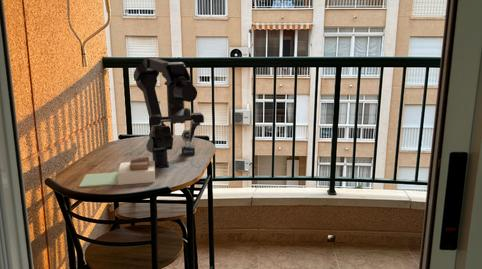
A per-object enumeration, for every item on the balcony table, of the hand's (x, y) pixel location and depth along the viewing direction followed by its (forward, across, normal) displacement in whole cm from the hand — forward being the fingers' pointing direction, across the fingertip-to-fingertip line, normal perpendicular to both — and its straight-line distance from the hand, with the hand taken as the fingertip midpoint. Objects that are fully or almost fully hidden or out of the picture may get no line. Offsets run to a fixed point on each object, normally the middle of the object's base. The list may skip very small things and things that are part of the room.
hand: (177, 142), depth 142 cm
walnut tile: (+8, -14, +1) cm, 16 cm away
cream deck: (+12, -14, +1) cm, 19 cm away
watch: (+12, +6, +29) cm, 32 cm away
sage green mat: (+12, -27, +1) cm, 29 cm away
